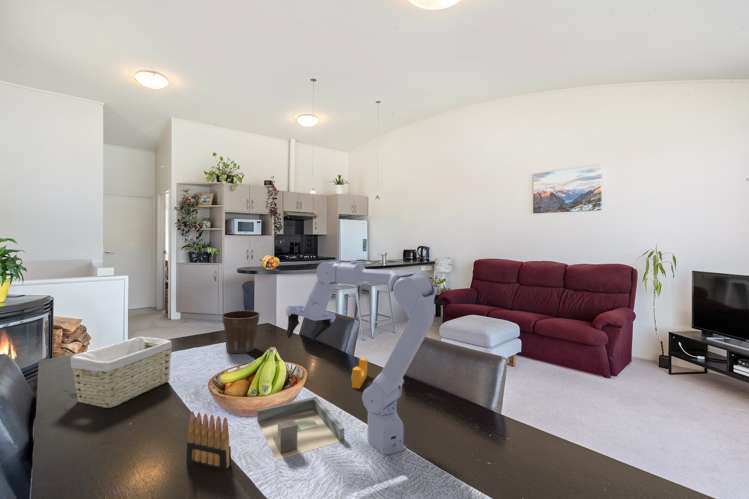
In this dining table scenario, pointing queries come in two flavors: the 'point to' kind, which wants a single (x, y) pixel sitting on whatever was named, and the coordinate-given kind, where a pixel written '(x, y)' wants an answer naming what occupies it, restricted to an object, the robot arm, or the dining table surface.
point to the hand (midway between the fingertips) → (300, 336)
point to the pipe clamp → (359, 374)
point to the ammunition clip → (208, 442)
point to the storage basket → (121, 370)
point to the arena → (301, 425)
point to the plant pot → (240, 330)
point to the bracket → (286, 437)
